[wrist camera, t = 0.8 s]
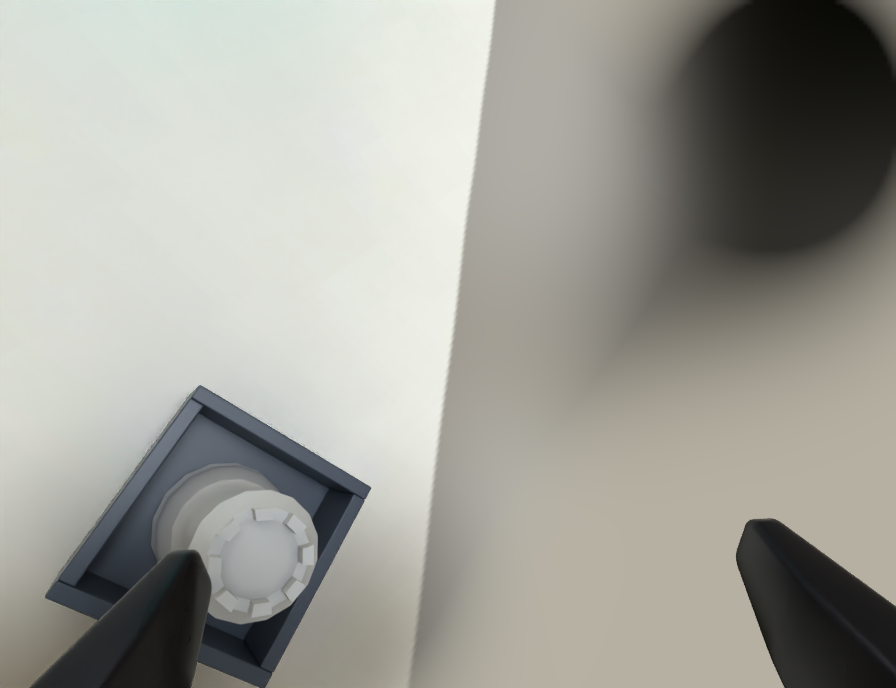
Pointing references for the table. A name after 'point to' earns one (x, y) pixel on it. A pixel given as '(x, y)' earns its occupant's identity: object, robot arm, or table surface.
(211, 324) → the table surface
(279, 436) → the tote
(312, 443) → the table surface
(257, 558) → the rook chess piece
